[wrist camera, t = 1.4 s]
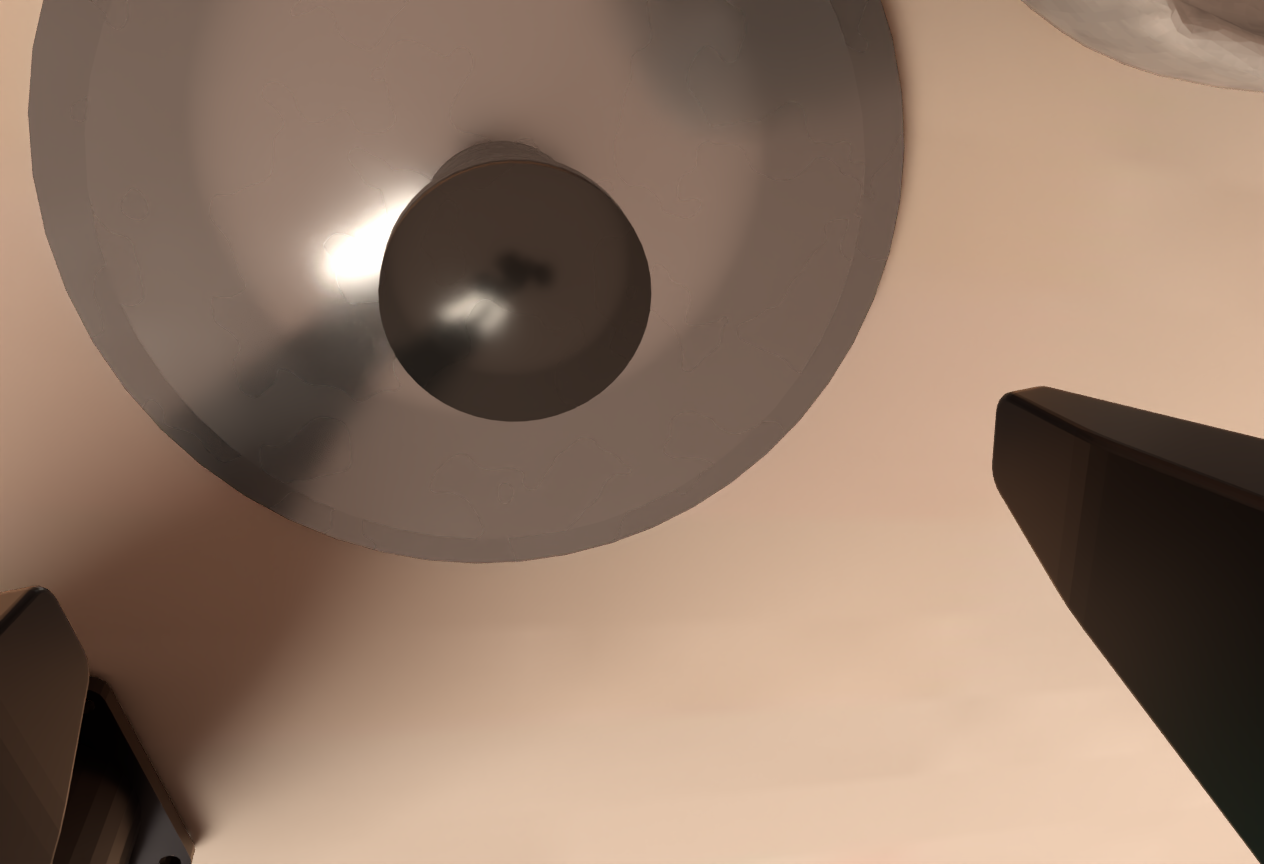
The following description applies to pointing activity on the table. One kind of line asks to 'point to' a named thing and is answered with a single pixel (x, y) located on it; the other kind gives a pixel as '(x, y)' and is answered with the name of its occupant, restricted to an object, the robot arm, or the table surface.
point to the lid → (470, 245)
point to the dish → (1170, 36)
